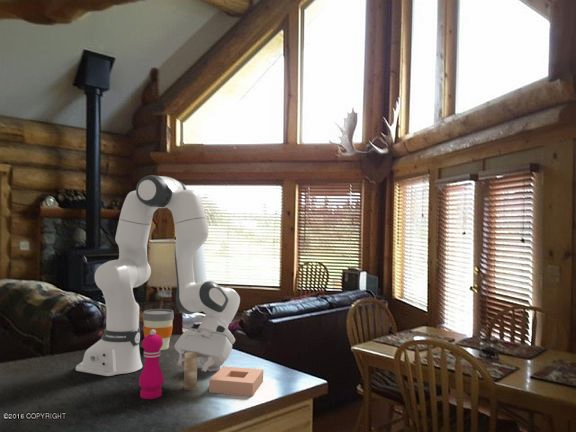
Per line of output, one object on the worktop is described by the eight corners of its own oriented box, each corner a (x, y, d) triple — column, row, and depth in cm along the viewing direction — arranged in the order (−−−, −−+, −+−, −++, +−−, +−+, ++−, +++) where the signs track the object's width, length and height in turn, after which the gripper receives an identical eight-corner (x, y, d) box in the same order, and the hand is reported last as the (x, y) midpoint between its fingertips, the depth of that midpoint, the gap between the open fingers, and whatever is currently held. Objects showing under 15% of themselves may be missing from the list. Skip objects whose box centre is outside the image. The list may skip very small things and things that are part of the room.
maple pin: (181, 389, 151) (182, 354, 152) (186, 385, 155) (187, 351, 156) (193, 390, 151) (194, 355, 151) (198, 386, 155) (199, 352, 155)
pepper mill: (156, 401, 142) (158, 332, 142) (133, 398, 143) (135, 331, 143) (167, 392, 149) (169, 327, 149) (145, 390, 150) (147, 326, 150)
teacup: (232, 362, 182) (233, 335, 182) (226, 374, 167) (227, 346, 167) (200, 361, 182) (201, 334, 182) (191, 373, 167) (192, 344, 168)
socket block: (209, 392, 150) (209, 379, 150) (222, 378, 164) (223, 366, 164) (252, 396, 147) (253, 383, 147) (263, 381, 161) (263, 369, 161)
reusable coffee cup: (148, 343, 207) (149, 308, 207) (177, 344, 205) (178, 309, 206) (136, 350, 194) (137, 313, 194) (166, 352, 193) (167, 315, 193)
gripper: (183, 322, 165) (162, 357, 156) (231, 329, 155) (211, 368, 146) (192, 332, 169) (171, 367, 160) (239, 341, 159) (220, 378, 150)
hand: (191, 367), depth 153 cm, fingers open, 8 cm apart
